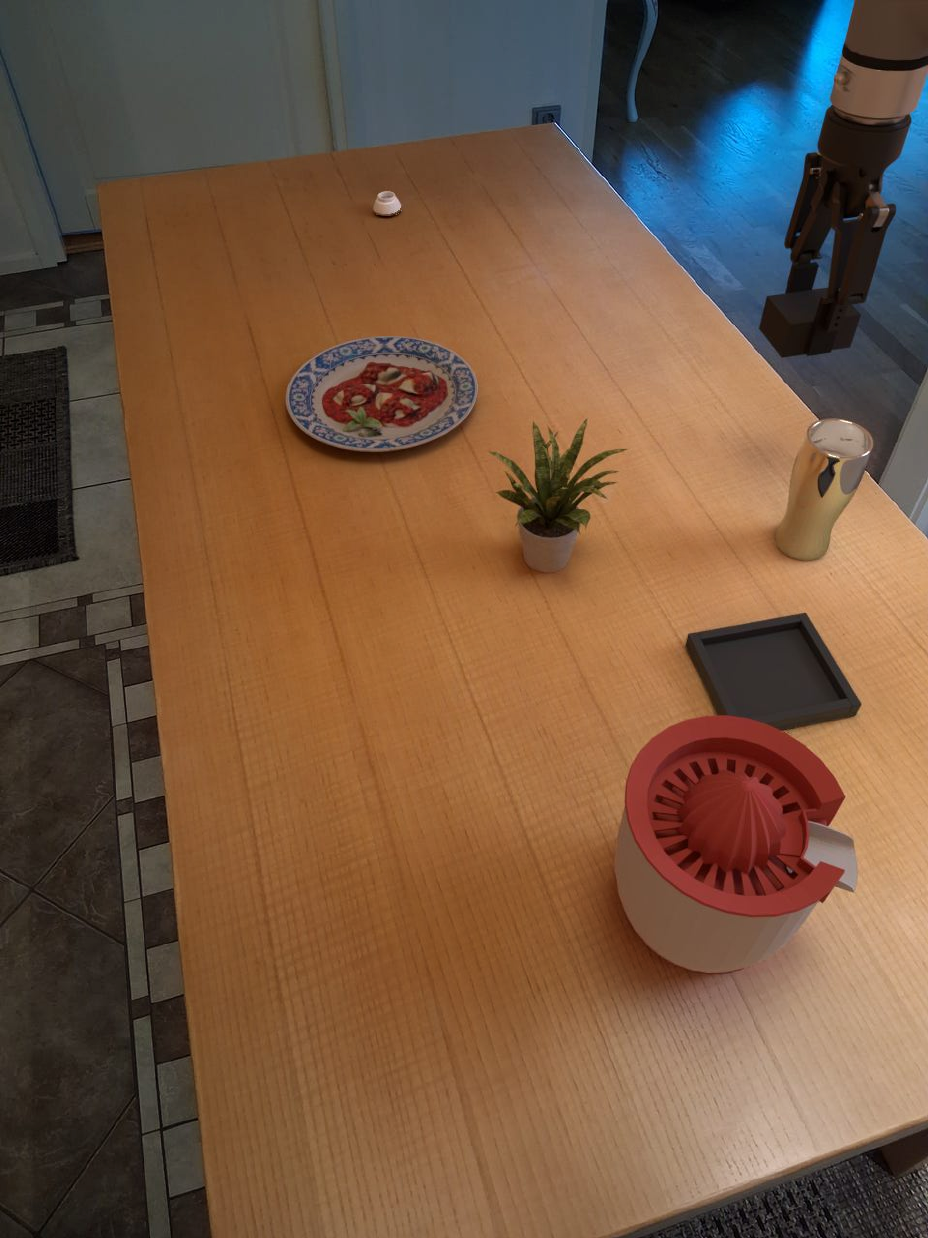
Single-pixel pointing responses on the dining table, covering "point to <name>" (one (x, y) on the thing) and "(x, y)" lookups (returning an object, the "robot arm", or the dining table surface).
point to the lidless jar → (386, 203)
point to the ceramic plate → (381, 393)
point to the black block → (801, 321)
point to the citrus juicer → (727, 842)
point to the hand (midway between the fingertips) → (803, 335)
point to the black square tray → (772, 673)
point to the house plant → (553, 500)
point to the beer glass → (822, 485)
